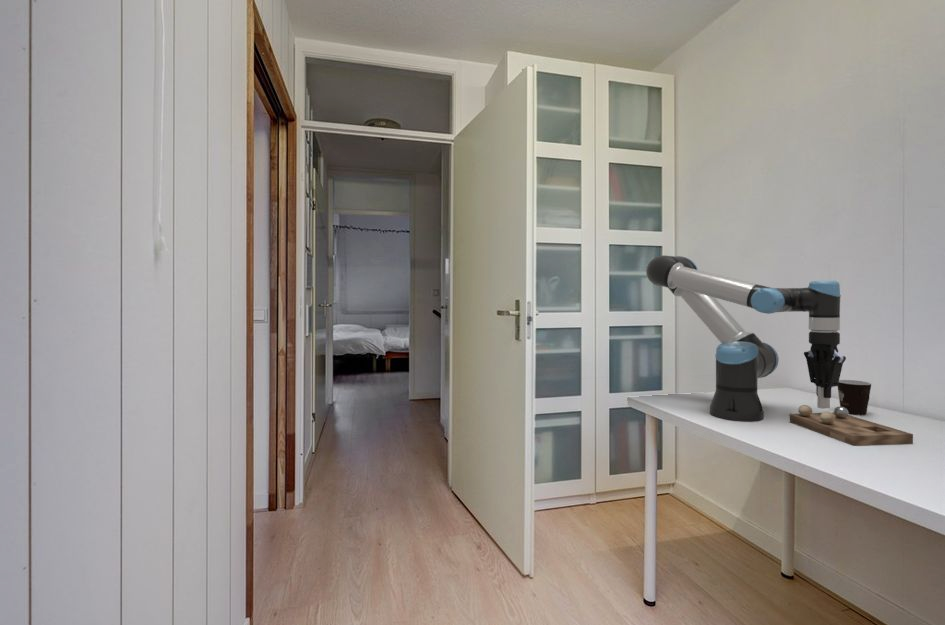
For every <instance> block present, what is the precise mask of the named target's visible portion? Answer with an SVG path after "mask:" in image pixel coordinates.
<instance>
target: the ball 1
mask: <svg viewBox="0 0 945 625" xmlns="http://www.w3.org/2000/svg"><path fill="white" fill-rule="evenodd" d="M797 412H798V414H801V415H802V416H810V415H811V414H812V413H813V409H812V407H811V406H810V405H808V404H807V405H806V404H801V405H800V406H799V407H798V408H797Z"/></svg>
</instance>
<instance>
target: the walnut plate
mask: <svg viewBox="0 0 945 625" xmlns="http://www.w3.org/2000/svg"><path fill="white" fill-rule="evenodd" d="M822 413H823V412H812V414H811V415H810V416H802V415H801V414H800V413H789V423H792V424H793V425H796V424H797V425H796V426H800V427H802V428H805V429H807V428H808V429H807V430H810V431H813V432H816V433H819V434H820V435H823V436H826V437H829V438H831V439H835V440H837V441H839V442H840V441H841V442H842V443H845V444H849V445H851V446H883V445H884V446H885V445H889V446H890V445H909V444H911V445H913V444H914V434H913V433H911V432H906V431H904V430H900V429H897V428H894V427H889V426H887V425H883V424H880V423H876V422H873V421H870V420H867V419H863V418H860V417H856V416H854V415H851V414H849V415H848V416H847V417H846V418H838V417H837V416H835V414H834V412H831V413H832V414H834V416H835V421H834V422H833V423H832V424H826V423H824V422H822V421H821V419H820V415H821V414H822Z"/></svg>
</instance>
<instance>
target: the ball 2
mask: <svg viewBox="0 0 945 625" xmlns="http://www.w3.org/2000/svg"><path fill="white" fill-rule="evenodd" d="M821 413H822V414H821V415H820V419H821V421H822V422H824V423H826V424H832V423H833V422H834V421H835V416H834V414H832V413H833V412H830V411H823V412H821Z"/></svg>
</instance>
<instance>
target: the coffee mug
mask: <svg viewBox="0 0 945 625" xmlns="http://www.w3.org/2000/svg"><path fill="white" fill-rule="evenodd" d="M871 388H872V383H871V382H868V381H862V380H854V379H853V380H852V379H839V383H838V386H837V390H838V398H839V400H838V401H839V407H840V406H841V407H844V408H846V409H847V410H848V412H849V415H852V414H853V415H852V416H866V415H867V411H868V407H869V400H870V396H871V395H870V394H871Z"/></svg>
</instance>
